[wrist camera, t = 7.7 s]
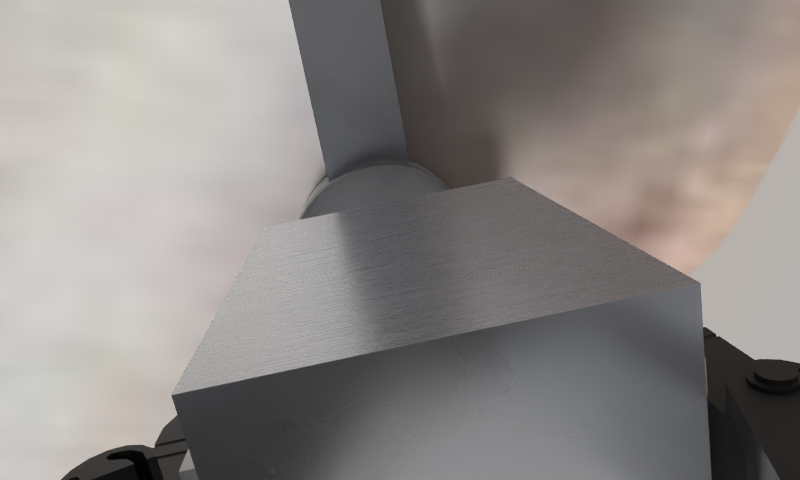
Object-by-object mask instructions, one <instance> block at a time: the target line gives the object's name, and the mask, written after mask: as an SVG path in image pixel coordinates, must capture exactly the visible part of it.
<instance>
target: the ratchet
mask: <svg viewBox="0 0 800 480" xmlns="http://www.w3.org/2000/svg"><path fill="white" fill-rule="evenodd" d="M289 4H290V9H291V13H292V18H293V22H294V27H295V31H296V36H297V40H298V45H299V49H300V54H301V58H302V63H303V67H304V72H305V77H306V81H307V86H308V90H309V95H310V99H311V104H312V108H313V113H314V117H315V122H316V126H317V131H318V135H319V140H320V145H321V149H322V154H323V158H324V163H325V167H326V172H327V176H326V177H325V178H324V179H323V180H322V181H321V182H320V183H319V184H318V185H317V186H316V188H315V189H314V190H313V191H312V193H311V194H310V196H309V198H308V200H307V201H306V203H305V205H304V208H303V210H302V213H301V216H300V219H299V220H302V219H307V218H312V217H316V216H321V215H326V214H331V213H336V212H341V211H346V210H351V209H356V208H361V207H366V206H371V205H376V204H381V203H386V202H391V201H396V200H401V199H405V198H410V197H415V196H420V195H425V194H430V193H435V192H440V191H445V190H450V189H451V188H449V187H448V186H447V185H446V184H445V183H444V182H443V181H442V180H441V179H440V178H439V177H437V176H436V175H435V174H434V173H432V172H431V171H430V170H428V169H427V168H425V167H423V166H421V165H420V164H417V163H415V162H413V161H410V160H409V155H408V150H407V144H406V139H405V133H404V128H403V122H402V117H401V111H400V106H399V100H398V95H397V89H396V84H395V79H394V73H393V68H392V62H391V57H390V51H389V46H388V40H387V35H386V29H385V24H384V18H383V13H382V8H381V2H380V0H289Z"/></svg>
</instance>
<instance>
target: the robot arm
mask: <svg viewBox="0 0 800 480" xmlns="http://www.w3.org/2000/svg"><path fill="white" fill-rule="evenodd" d="M703 339H704V356H705V374H706V391H707V408H708V426H709V443H710V460H711V478H712V480H800V363H795V362H789V361H783V360H771V359H759V360H754V359H752V358H751V357H749V356H748V355H746V354H745V353H743V352H742V351H740V350H739V349H737V348H736V347H734V346H733V345H731V344H730V343H728V342H727V341H725V340H724V339H722V338H721V337H716V334H715V333H713V332H712V331H710V330H709V329H707V328H706V327H704V328H703ZM61 480H199V479H198V476H197V473H196V470H195V467H194V464H193V461H192V458H191V455H190V451H189V448H188V445H187V442H186V439H185V436H184V433H183V430H182V426H181V423H180V420H179V417H178V415H177V416H176V417H175V418H174V419H173V420H172V421H170V422H169V423H168V424H167V425H166V426H165V427H164V428H163V430H162V432H161V434H160V436H159V437H158V439H157V441H156V443H155V448H153V449H152V448H150V447H147V446H144V445H128V446H123V447H119V448H115V449H112V450H108V451H106V452H103V453H101V454H99V455H97V456H94V457H92V458H90V459H88V460H86V461H85V462H83V463H82V464H80V465H79V466H77V467H75V468H74V469H72V470H71V471H70V472H69V473H68V474H67V475H66V476H64V477H63V478H62V479H61Z"/></svg>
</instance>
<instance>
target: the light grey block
mask: <svg viewBox="0 0 800 480" xmlns="http://www.w3.org/2000/svg"><path fill="white" fill-rule="evenodd" d="M700 288H701V287H700V283H699V282H698V281H696V280H694V279H692V278H691V277H689V276H687V275H685V274H683V273H682V272H680V271H678V270H676V269H674V268H673V267H671V266H669V265H667V264H665V263H664V262H662V261H660V260H658V259H657V258H655V257H653V256H651V255H649V254H648V253H646V252H644V251H642V250H640V249H639V248H637V247H635V246H633V245H631V244H630V243H628V242H626V241H624V240H623V239H621V238H619V237H617V236H615V235H614V234H612V233H610V232H608V231H606V230H605V229H603V228H601V227H599V226H597V225H596V224H594V223H592V222H590V221H589V220H587V219H585V218H583V217H581V216H580V215H578V214H576V213H574V212H572V211H571V210H569V209H567V208H565V207H563V206H562V205H560V204H558V203H556V202H555V201H553V200H551V199H549V198H547V197H546V196H544V195H542V194H540V193H538V192H537V191H535V190H533V189H531V188H529V187H528V186H526V185H524V184H522V183H521V182H519V181H517V180H515V179H513V178H512V177H509V178H504V179H499V180H494V181H489V182H485V183H480V184H475V185H470V186H465V187H460V188H455V189H450V190H445V191H440V192H435V193H430V194H425V195H420V196H415V197H410V198H405V199H401V200H396V201H391V202H386V203H381V204H376V205H371V206H366V207H361V208H356V209H351V210H346V211H341V212H336V213H331V214H326V215H321V216H316V217H312V218H307V219H302V220H297V221H292V222H287V223H282V224H277V225H272V226H267V227H264V229H263V230H262V232H261V234H260V236H259V238H258V239H257V241H256V243H255V245H254V247H253V248H252V250H251V252H250V254H249V256H248V257H247V259H246V261H245V263H244V265H243V267H242V268H241V270H240V272H239V274H238V276H237V277H236V279H235V281H234V283H233V285H232V286H231V288H230V290H229V292H228V294H227V295H226V297H225V299H224V301H223V303H222V305H221V306H220V308H219V310H218V312H217V314H216V315H215V317H214V319H213V321H212V323H211V324H210V326H209V328H208V330H207V332H206V333H205V335H204V337H203V339H202V341H201V343H200V344H199V346H198V348H197V350H196V352H195V353H194V355H193V357H192V359H191V361H190V362H189V364H188V366H187V368H186V370H185V371H184V373H183V375H182V377H181V379H180V380H179V382H178V384H177V386H176V388H175V390H174V391H173V393H172V398H173V402H174V405H175V408H176V411H177V414H178V417H179V420H180V423H181V426H182V430H183V433H184V436H185V439H186V442H187V445H188V448H189V451H190V455H191V458H192V461H193V464H194V467H195V470H196V473H197V476H198V479H199V480H712V478H711V460H710V443H709V426H708V408H707V391H706V374H705V356H704V339H703V323H702V304H701V289H700Z"/></svg>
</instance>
